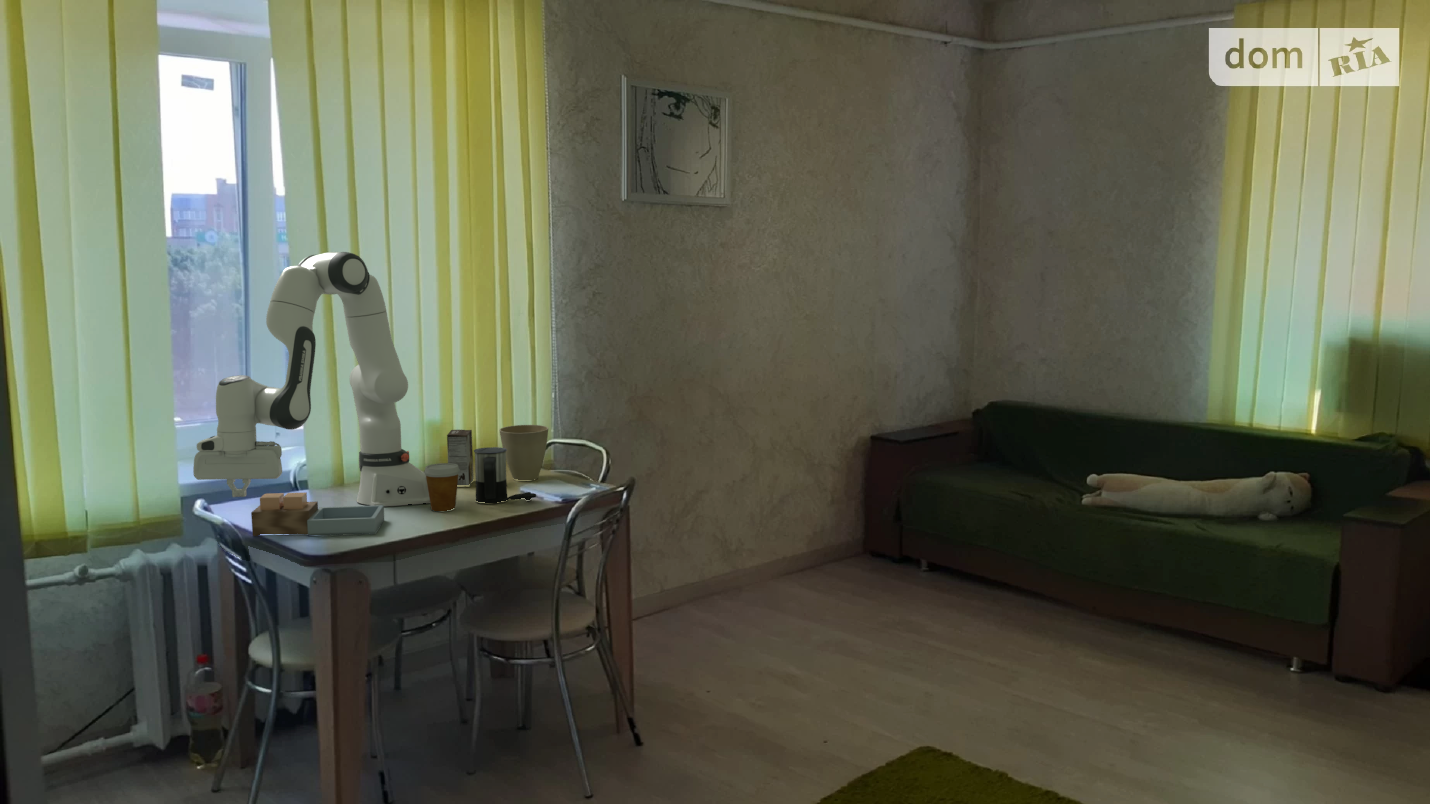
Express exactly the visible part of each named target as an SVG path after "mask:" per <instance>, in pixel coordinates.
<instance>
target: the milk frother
mask: <svg viewBox="0 0 1430 804" xmlns="http://www.w3.org/2000/svg"><path fill="white" fill-rule="evenodd" d="M506 451H507V449H506V448H503V447H499V446H497V447H496V446H493V447H480V448H479V447H478V448H476V449H474V450H473V453H474V464H475V465H474V467H475V469H474V470H475V471H474V472H475V474H474V475H475V500H476V501H478V502H485V503H497V502H501V501H506V500H508V501H509V500H512V501H515V499H519V500H522V499H521V498H525V499H526V500H530V499H531V498H532V499H533V498H537V493H533V492H532V493H531V491H526V492H523V493H516V494H512V495H510V496H508V487H507V486H508V485H507V482H508V481H507V461H506ZM525 499H524V500H525ZM506 502H507V501H506Z"/></svg>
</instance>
